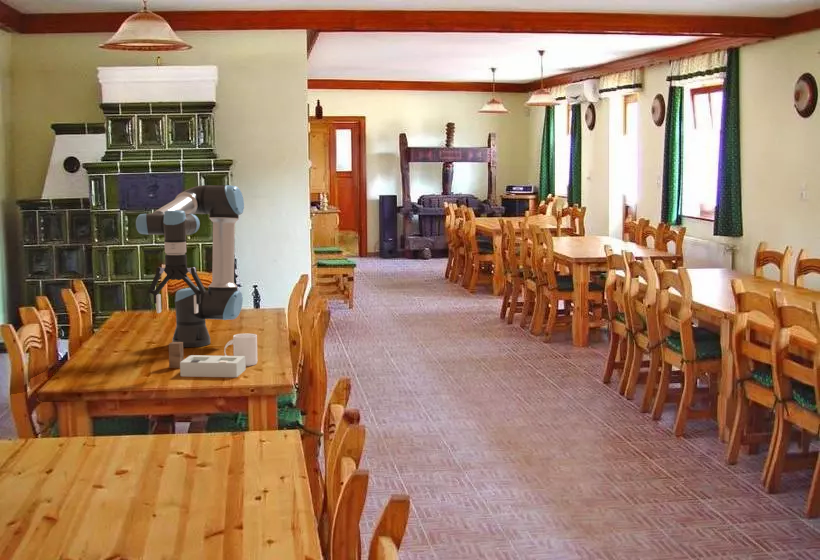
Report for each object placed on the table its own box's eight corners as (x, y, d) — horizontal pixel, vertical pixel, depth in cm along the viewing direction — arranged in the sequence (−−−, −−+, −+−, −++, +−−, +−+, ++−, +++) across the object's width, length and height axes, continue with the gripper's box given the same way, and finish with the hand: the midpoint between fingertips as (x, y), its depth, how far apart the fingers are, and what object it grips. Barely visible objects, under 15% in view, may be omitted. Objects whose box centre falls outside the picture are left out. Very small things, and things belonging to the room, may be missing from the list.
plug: (173, 366, 349) (172, 341, 348) (183, 366, 348) (183, 342, 347) (169, 368, 345) (168, 344, 344) (180, 368, 345) (179, 344, 343)
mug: (223, 362, 354) (222, 334, 353) (256, 361, 357) (255, 332, 356) (225, 367, 346) (224, 338, 345) (258, 365, 349) (258, 337, 348)
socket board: (191, 368, 344) (190, 354, 344) (245, 369, 343) (245, 355, 342) (180, 376, 332) (179, 361, 332) (236, 377, 331) (236, 362, 330)
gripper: (137, 254, 337) (140, 314, 339) (207, 255, 335) (209, 314, 338) (144, 252, 344) (147, 310, 347) (213, 252, 342) (214, 311, 345)
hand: (177, 312), depth 342 cm, fingers open, 13 cm apart
